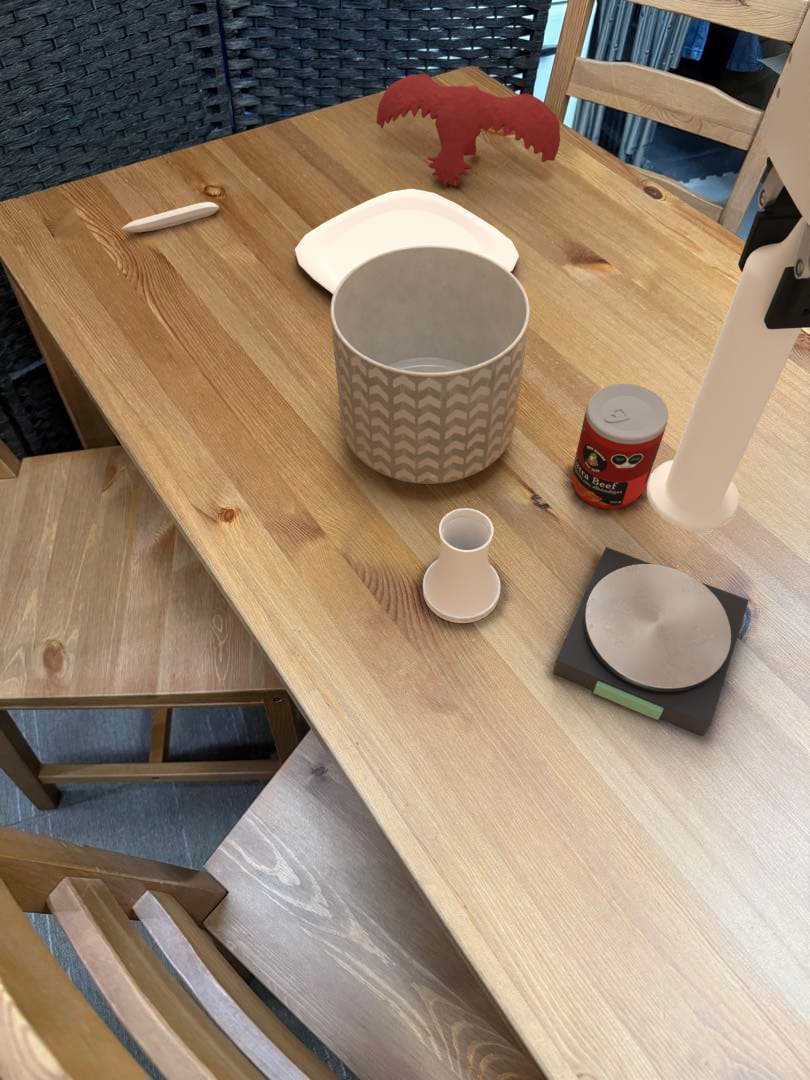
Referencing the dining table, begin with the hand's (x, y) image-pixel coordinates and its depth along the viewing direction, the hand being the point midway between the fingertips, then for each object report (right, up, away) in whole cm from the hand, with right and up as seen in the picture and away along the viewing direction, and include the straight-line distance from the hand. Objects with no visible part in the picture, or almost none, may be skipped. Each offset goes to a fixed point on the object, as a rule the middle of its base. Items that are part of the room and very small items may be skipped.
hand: (777, 293), depth 52 cm
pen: (-55, +29, +68) cm, 93 cm away
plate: (-23, +22, +63) cm, 70 cm away
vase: (-17, -20, +32) cm, 41 cm away
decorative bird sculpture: (-15, +41, +76) cm, 88 cm away
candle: (0, -12, +16) cm, 20 cm away
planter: (-20, -3, +44) cm, 49 cm away
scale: (0, -25, +28) cm, 37 cm away
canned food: (-1, -9, +40) cm, 41 cm away
